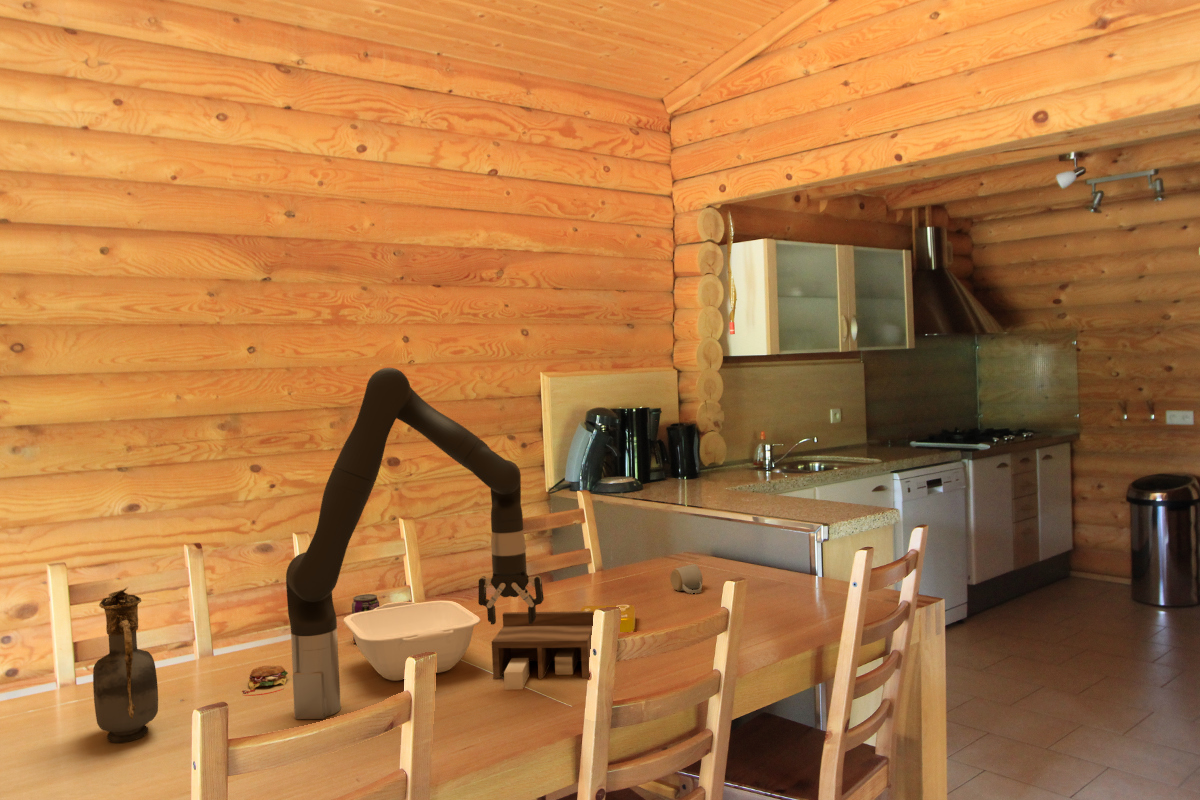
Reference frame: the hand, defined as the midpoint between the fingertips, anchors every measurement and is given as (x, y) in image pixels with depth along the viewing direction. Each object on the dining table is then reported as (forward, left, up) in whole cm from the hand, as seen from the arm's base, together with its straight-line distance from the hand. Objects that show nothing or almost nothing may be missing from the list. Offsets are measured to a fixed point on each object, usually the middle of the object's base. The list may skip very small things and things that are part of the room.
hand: (512, 623), depth 199 cm
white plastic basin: (+12, +27, -14) cm, 33 cm away
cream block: (+3, 0, -14) cm, 15 cm away
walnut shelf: (+12, -5, -14) cm, 19 cm away
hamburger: (+1, +59, -15) cm, 61 cm away
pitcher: (-29, +72, -14) cm, 79 cm away
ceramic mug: (+86, -38, -14) cm, 95 cm away
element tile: (+47, -16, -15) cm, 52 cm away
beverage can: (+35, +47, -14) cm, 60 cm away
